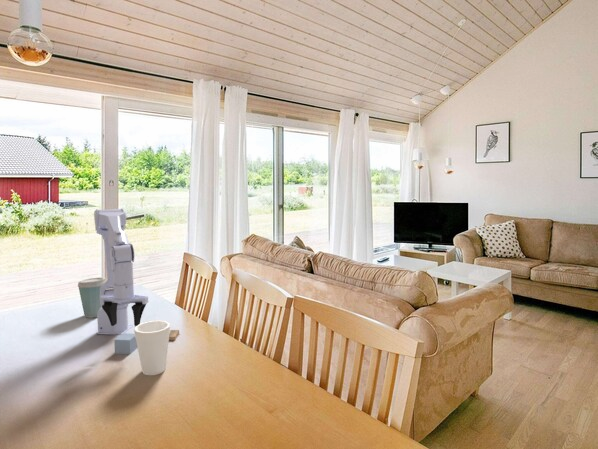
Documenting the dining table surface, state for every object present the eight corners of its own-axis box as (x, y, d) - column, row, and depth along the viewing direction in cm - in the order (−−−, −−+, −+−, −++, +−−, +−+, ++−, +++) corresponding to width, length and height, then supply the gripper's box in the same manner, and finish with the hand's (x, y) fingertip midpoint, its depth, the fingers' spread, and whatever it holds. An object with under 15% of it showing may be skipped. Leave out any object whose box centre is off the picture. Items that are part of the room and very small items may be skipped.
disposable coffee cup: (72, 318, 152) (70, 280, 150) (94, 309, 162) (92, 274, 161) (94, 321, 149) (92, 283, 147) (115, 312, 159) (113, 276, 158)
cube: (115, 354, 121) (114, 339, 120) (123, 348, 126) (122, 333, 125) (130, 355, 120) (129, 340, 120) (138, 348, 125) (137, 333, 125)
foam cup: (178, 366, 113) (176, 323, 112) (154, 381, 105) (152, 335, 104) (154, 359, 117) (152, 318, 116) (129, 373, 109) (127, 329, 107)
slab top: (157, 340, 130) (156, 337, 130) (161, 333, 136) (161, 330, 136) (175, 340, 131) (175, 336, 131) (179, 333, 137) (179, 329, 136)
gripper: (93, 286, 117) (96, 329, 119) (139, 287, 116) (141, 330, 118) (106, 280, 124) (108, 320, 126) (150, 281, 123) (152, 322, 125)
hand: (125, 325), depth 122 cm, fingers open, 7 cm apart
